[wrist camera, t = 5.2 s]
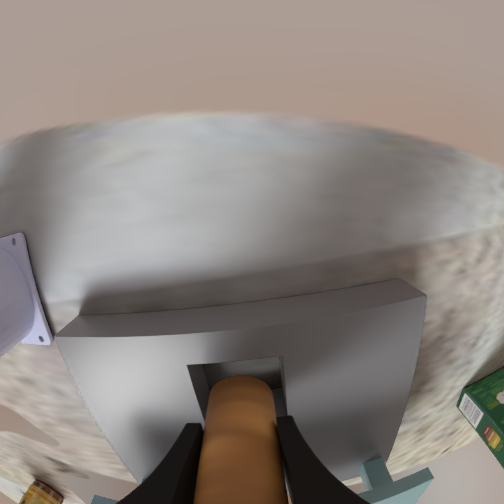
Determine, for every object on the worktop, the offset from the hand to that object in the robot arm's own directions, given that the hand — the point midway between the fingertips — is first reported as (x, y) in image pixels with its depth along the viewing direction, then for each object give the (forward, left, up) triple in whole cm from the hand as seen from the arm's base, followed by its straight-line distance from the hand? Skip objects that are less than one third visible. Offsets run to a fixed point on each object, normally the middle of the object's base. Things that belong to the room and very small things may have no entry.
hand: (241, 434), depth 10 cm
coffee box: (+23, -10, -6) cm, 26 cm away
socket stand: (0, -4, -6) cm, 7 cm away
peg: (0, 0, -2) cm, 2 cm away
